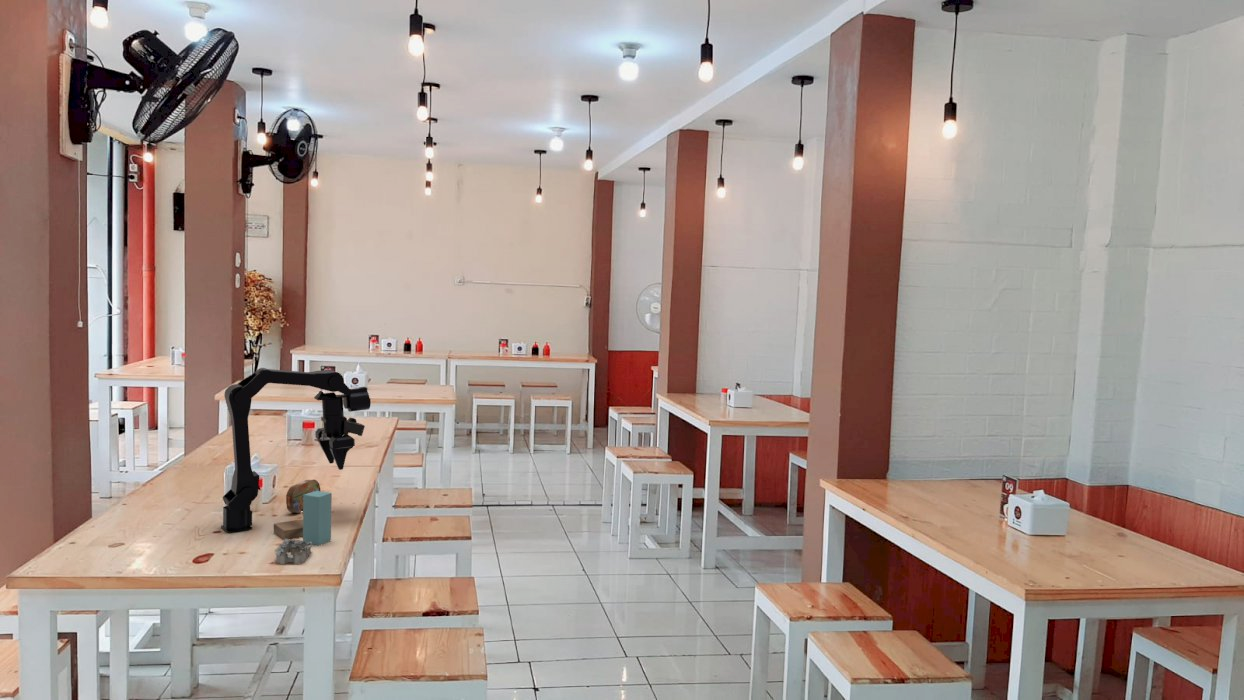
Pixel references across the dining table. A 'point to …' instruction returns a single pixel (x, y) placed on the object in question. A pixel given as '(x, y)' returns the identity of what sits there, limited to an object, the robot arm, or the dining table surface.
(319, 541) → the teal block
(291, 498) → the tin
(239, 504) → the robot arm
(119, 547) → the dining table surface
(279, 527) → the walnut plinth
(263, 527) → the dining table surface
